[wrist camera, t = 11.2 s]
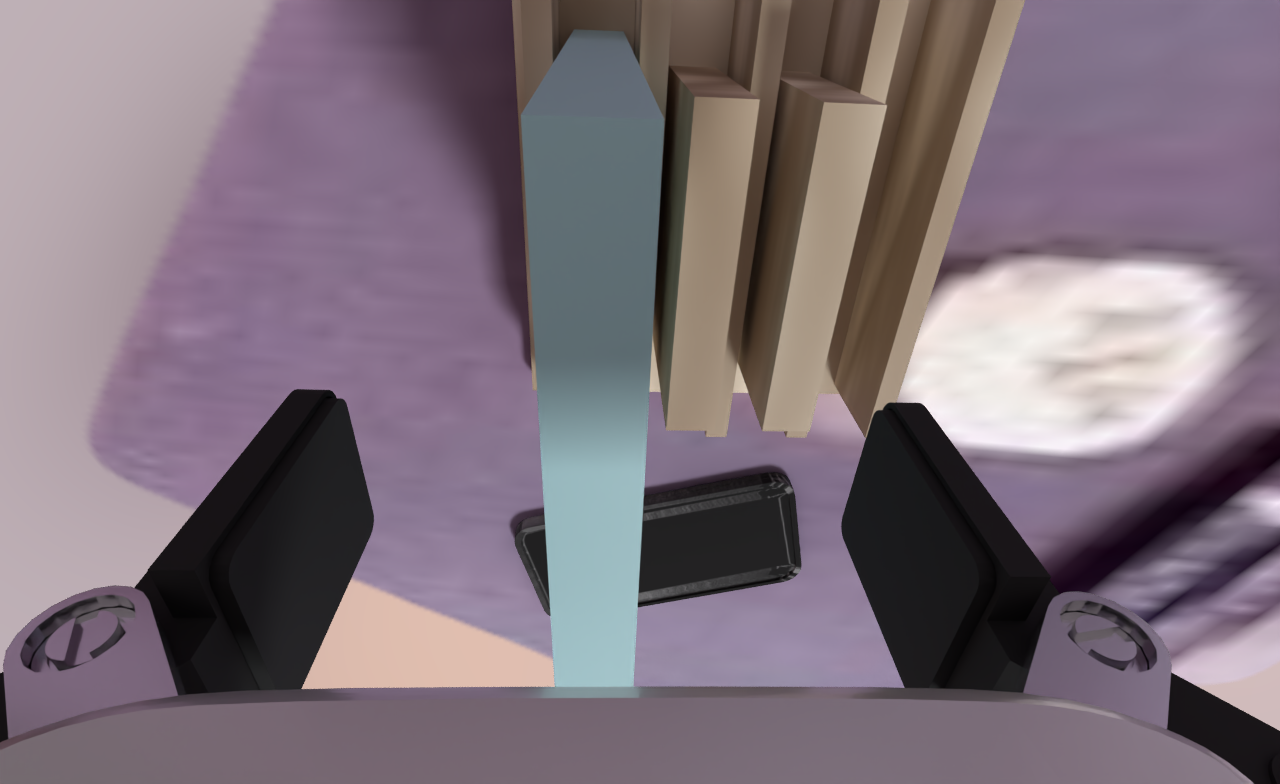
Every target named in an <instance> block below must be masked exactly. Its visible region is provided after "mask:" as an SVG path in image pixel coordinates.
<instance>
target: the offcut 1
mask: <svg viewBox="0 0 1280 784" xmlns="http://www.w3.org/2000/svg"><path fill="white" fill-rule="evenodd" d="M759 102H760V99H758V98H757V97H756V96H754V95H753V94H752V93H750V92H749V91H747V90H746V89H745V88H743V87H742V86H741V85H739V84H738V83H736V82H735V81H734V80H732V79H731V78H730V77H728V76H727V75H725V74H724V73H723V72H721V71H720V70H719V69H717V68H711V67H690V66H669V72H668V88H667V103H666V119H665V135H664V150H663V166H662V182H661V197H660V213H659V229H658V245H657V263H656V281H655V299H654V318H653V343H654V349H655V356H656V363H657V370H658V377H659V384H660V391H661V398H662V405H663V412H664V419H665V426H666V430H693V431H714V430H715V423H716V416H717V408H718V401H719V394H720V387H721V379H722V372H723V365H724V357H725V350H726V343H727V335H728V328H729V321H730V313H731V306H732V299H733V292H734V284H735V277H736V270H737V262H738V255H739V248H740V240H741V233H742V226H743V219H744V211H745V204H746V197H747V189H748V182H749V175H750V167H751V160H752V153H753V146H754V138H755V131H756V124H757V116H758V109H759Z"/></svg>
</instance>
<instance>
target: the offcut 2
mask: <svg viewBox="0 0 1280 784" xmlns="http://www.w3.org/2000/svg"><path fill="white" fill-rule="evenodd" d="M886 109H887V105H886V104H884V103H881V102H879V101H876V100H874V99H872V98H869V97H867V96H865V95H862V94H860V93H858V92H855V91H853V90H850V89H848V88H846V87H843V86H841V85H839V84H836V83H834V82H831V81H829V80H827V79H824V78H822V77H820V76H817V75H815V74H812V73H810V72H796V71H781V76H780V83H779V90H778V96H777V103H776V110H775V116H774V123H773V129H772V136H771V143H770V149H769V156H768V163H767V169H766V176H765V183H764V189H763V196H762V203H761V209H760V216H759V223H758V229H757V236H756V242H755V249H754V256H753V262H752V269H751V276H750V282H749V289H748V296H747V302H746V309H745V316H744V322H743V329H742V336H741V342H740V349H739V355H738V365H739V368H740V370H741V373H742V376H743V379H744V382H745V384H746V387H747V390H748V393H749V395H750V398H751V401H752V404H753V407H754V409H755V412H756V415H757V418H758V421H759V423H760V426H761V429H762V431H810V428H811V423H812V419H813V415H814V411H815V407H816V402H817V398H818V394H819V390H820V386H821V381H822V377H823V373H824V369H825V365H826V360H827V356H828V352H829V348H830V344H831V339H832V335H833V331H834V327H835V323H836V318H837V314H838V310H839V306H840V302H841V297H842V293H843V289H844V285H845V281H846V276H847V272H848V268H849V264H850V260H851V255H852V251H853V247H854V243H855V239H856V234H857V230H858V226H859V222H860V218H861V213H862V209H863V205H864V201H865V197H866V192H867V188H868V184H869V180H870V176H871V171H872V167H873V163H874V159H875V155H876V151H877V146H878V142H879V138H880V134H881V130H882V125H883V121H884V117H885V113H886Z"/></svg>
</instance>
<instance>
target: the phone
mask: <svg viewBox="0 0 1280 784" xmlns="http://www.w3.org/2000/svg"><path fill="white" fill-rule="evenodd" d="M515 546H516V548H517V551H518V553H519V555H520V557H521V560H522V562H523V564H524V566H525V568H526V571H527V573H528V575H529V577H530V580H531V582H532V584H533V586H534V588H535V591H536V593H537V595H538V597H539V600H540V602H541V604H542V606H543V608H544V611H545V612H546V613H547V614H548V615H549V616H551V614H550V597H549V581H548V564H547V547H546V530H545V515H540V516H535V517H530V518H527V519H525V520H523V521H522V522H520V524H519V525H518V526H517V530H516V536H515ZM800 570H801V555H800V545H799V534H798V523H797V512H796V501H795V494H794V490H793V488H792V485H791V483H790V480H789V479H788V478H787V477H786V476H785V475H783V474H781V473H776V472H771V473H763V474H758V475H753V476H747V477H742V478H737V479H731V480H726V481H721V482H715V483H710V484H705V485H699V486H694V487H689V488H684V489H678V490H673V491H668V492H662V493H657V494H652V495H646V496H644V499H643V518H642V536H641V554H640V572H639V590H638V607H642V606H648V605H654V604H660V603H665V602H671V601H677V600H682V599H688V598H694V597H700V596H705V595H711V594H717V593H723V592H728V591H734V590H740V589H745V588H751V587H757V586H763V585H768V584H774V583H780V582H784V581H788V580H790V579H792V578H794V577H795V576H796V575H797V574H798V573H799V572H800Z"/></svg>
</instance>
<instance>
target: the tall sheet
mask: <svg viewBox="0 0 1280 784" xmlns="http://www.w3.org/2000/svg"><path fill="white" fill-rule="evenodd" d="M521 128H522V144H523V161H524V178H525V195H526V212H527V228H528V245H529V262H530V279H531V295H532V312H533V329H534V346H535V363H536V379H537V396H538V413H539V430H540V446H541V463H542V480H543V497H544V514H545V530H546V547H547V564H548V581H549V597H550V614H551V631H552V648H553V665H554V681H555V687H633V681H634V663H635V645H636V627H637V609H638V590H639V572H640V554H641V536H642V518H643V499H644V481H645V463H646V445H647V427H648V409H649V390H650V372H651V354H652V336H653V318H654V299H655V281H656V263H657V245H658V227H659V209H660V190H661V172H662V154H663V136H664V118H663V115H662V113H661V111H660V109H659V107H658V105H657V102H656V100H655V98H654V96H653V94H652V92H651V90H650V87H649V85H648V83H647V81H646V79H645V77H644V74H643V72H642V70H641V68H640V66H639V64H638V61H637V59H636V57H635V55H634V53H633V51H632V49H631V46H630V44H629V42H628V40H627V38H626V36H625V33H624V31H602V30H578V29H574V30H573V32H572V34H571V35H570V37H569V38H568V40H567V42H566V43H565V45H564V46H563V48H562V50H561V51H560V53H559V54H558V56H557V58H556V59H555V61H554V62H553V64H552V66H551V67H550V69H549V70H548V72H547V74H546V75H545V77H544V78H543V80H542V82H541V83H540V85H539V86H538V88H537V90H536V91H535V93H534V94H533V96H532V98H531V99H530V101H529V102H528V104H527V106H526V107H525V109H524V110H523V112H522V114H521Z"/></svg>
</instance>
